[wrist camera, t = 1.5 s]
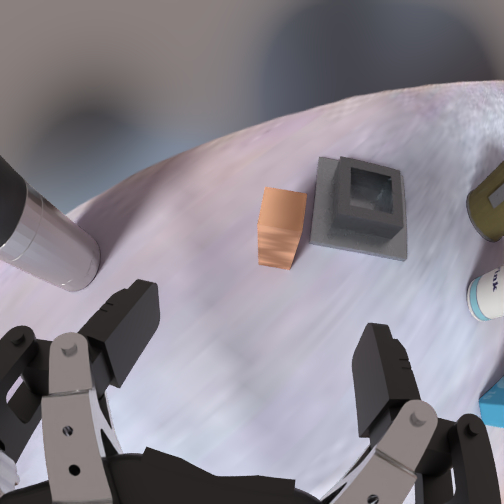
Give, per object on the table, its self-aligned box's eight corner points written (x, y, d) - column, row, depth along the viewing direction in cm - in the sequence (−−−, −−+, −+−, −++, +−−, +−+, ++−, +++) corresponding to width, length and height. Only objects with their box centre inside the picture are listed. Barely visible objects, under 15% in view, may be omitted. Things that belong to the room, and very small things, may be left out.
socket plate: (309, 243, 37) (315, 227, 33) (318, 160, 42) (323, 139, 37) (403, 261, 36) (420, 249, 31) (400, 179, 41) (412, 161, 36)
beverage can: (473, 270, 35) (521, 243, 24) (495, 297, 33) (544, 277, 22) (457, 303, 34) (510, 283, 22) (480, 331, 32) (534, 318, 21)
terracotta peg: (258, 264, 37) (257, 224, 25) (264, 235, 38) (265, 186, 27) (289, 269, 36) (302, 232, 25) (294, 241, 38) (307, 193, 26)
